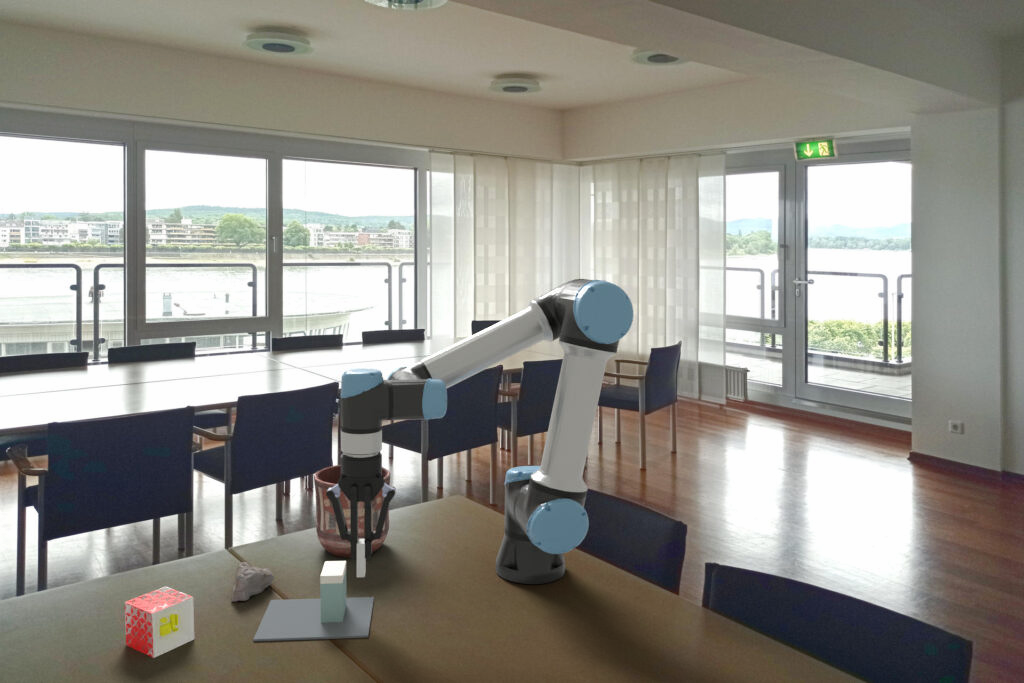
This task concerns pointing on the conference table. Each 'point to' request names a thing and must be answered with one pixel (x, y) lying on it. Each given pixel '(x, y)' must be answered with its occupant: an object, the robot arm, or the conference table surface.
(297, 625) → the slate mat
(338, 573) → the painted block
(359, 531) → the pottery
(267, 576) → the stone
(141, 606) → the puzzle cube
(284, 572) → the conference table surface
